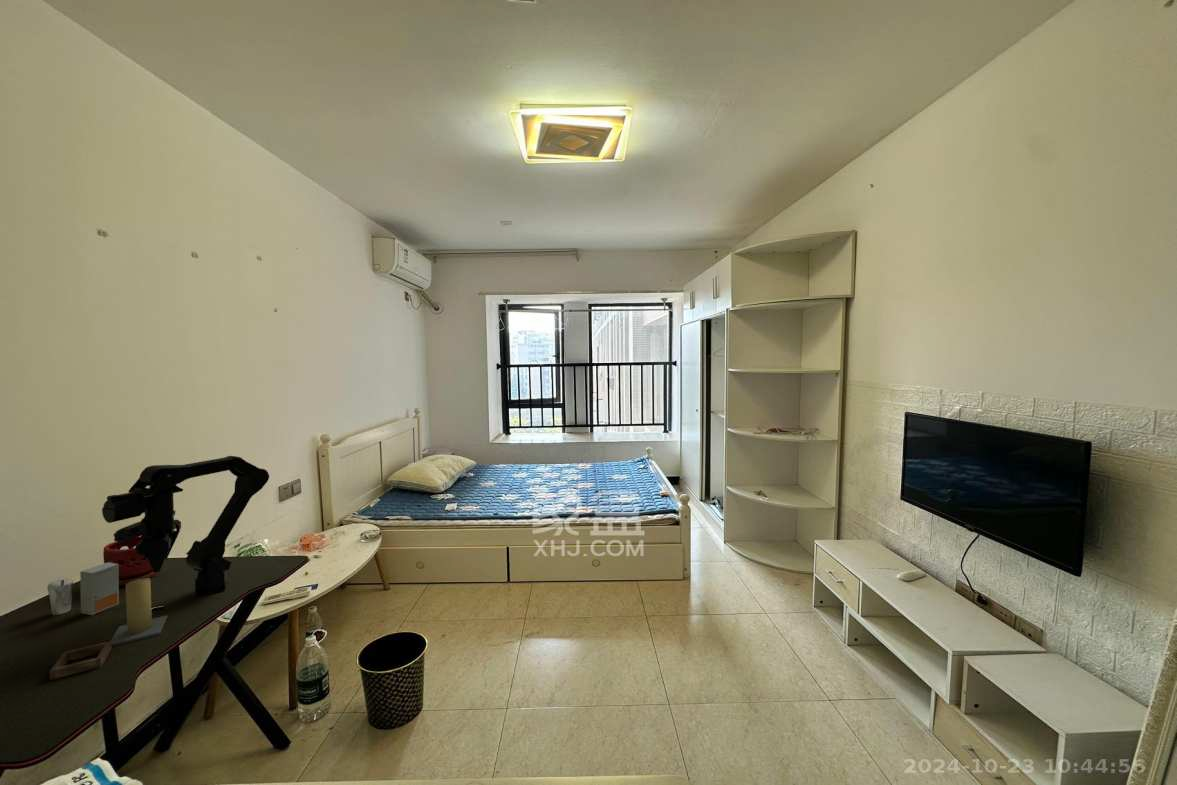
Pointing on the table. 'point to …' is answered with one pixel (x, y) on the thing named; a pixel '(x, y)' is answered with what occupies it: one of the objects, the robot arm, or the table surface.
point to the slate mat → (124, 637)
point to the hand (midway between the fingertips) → (160, 565)
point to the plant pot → (128, 561)
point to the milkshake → (60, 595)
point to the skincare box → (99, 588)
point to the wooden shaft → (138, 605)
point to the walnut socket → (63, 670)
